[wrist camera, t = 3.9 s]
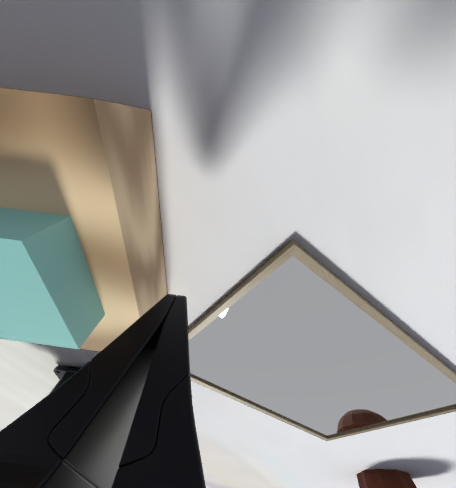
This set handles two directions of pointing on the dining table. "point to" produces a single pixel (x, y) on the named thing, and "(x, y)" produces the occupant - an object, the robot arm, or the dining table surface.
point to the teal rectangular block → (45, 281)
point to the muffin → (385, 479)
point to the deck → (90, 192)
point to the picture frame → (315, 353)
